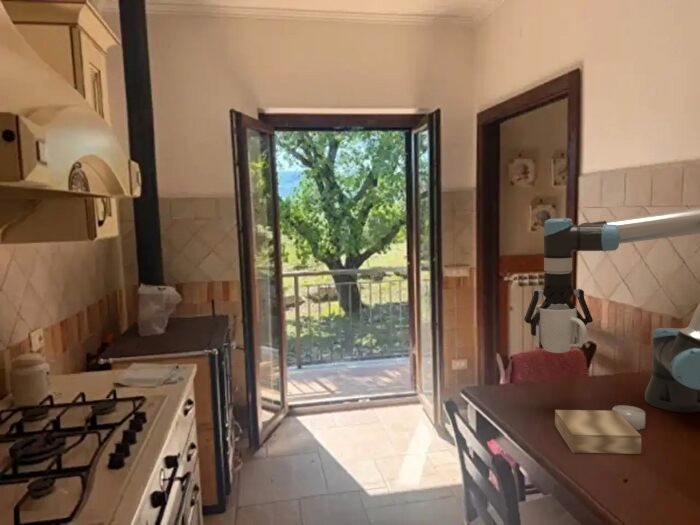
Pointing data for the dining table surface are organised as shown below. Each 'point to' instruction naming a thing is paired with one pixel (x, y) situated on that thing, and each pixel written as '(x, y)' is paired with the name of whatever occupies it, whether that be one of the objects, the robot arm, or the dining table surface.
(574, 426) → the beech box
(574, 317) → the mug
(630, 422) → the stoneware dish
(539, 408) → the dining table surface
